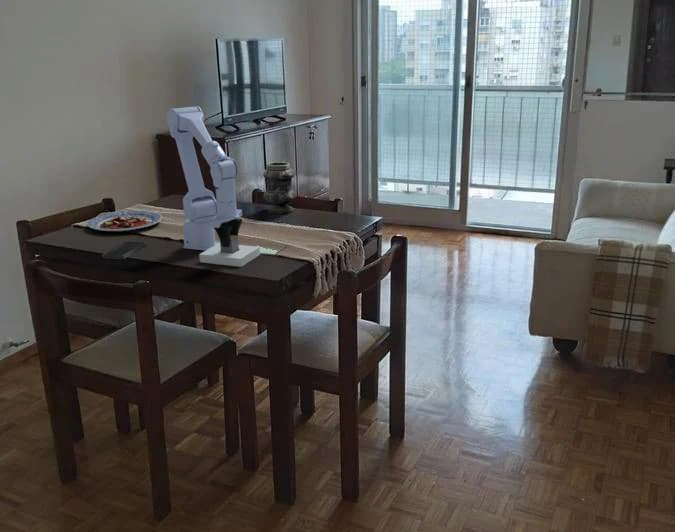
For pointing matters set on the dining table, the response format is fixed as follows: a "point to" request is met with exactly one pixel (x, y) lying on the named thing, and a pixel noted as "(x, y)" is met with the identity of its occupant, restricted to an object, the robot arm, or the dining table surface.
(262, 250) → the pad
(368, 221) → the dining table surface
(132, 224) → the ceramic plate
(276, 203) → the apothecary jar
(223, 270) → the dining table surface
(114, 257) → the phone
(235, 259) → the white board with hole
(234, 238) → the plug
